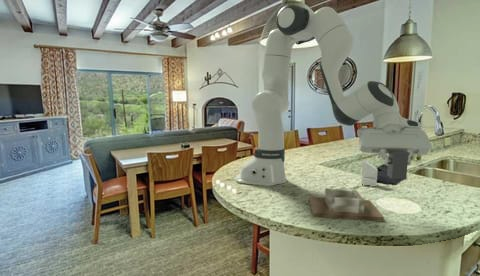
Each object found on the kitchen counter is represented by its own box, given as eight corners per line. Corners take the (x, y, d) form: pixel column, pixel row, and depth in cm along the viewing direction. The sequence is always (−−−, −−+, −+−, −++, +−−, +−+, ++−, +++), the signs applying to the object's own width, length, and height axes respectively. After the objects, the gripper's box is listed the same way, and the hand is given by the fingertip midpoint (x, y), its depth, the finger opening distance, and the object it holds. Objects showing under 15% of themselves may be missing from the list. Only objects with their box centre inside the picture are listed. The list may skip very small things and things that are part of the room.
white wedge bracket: (351, 175, 119) (363, 159, 116) (372, 189, 116) (385, 173, 113) (350, 177, 116) (362, 161, 113) (371, 192, 113) (385, 176, 110)
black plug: (391, 178, 82) (393, 152, 81) (386, 175, 86) (389, 150, 85) (406, 179, 82) (408, 153, 81) (400, 175, 86) (403, 150, 84)
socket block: (312, 216, 83) (313, 199, 82) (309, 200, 97) (309, 185, 96) (383, 221, 80) (384, 204, 79) (369, 203, 93) (370, 188, 93)
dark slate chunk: (358, 180, 123) (358, 170, 122) (373, 171, 139) (373, 161, 138) (396, 187, 113) (397, 176, 112) (408, 176, 129) (408, 166, 128)
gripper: (358, 121, 90) (364, 156, 82) (426, 122, 87) (439, 159, 79) (354, 133, 95) (359, 167, 87) (418, 134, 92) (430, 170, 84)
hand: (398, 163), depth 83 cm, fingers closed on black plug, 4 cm apart
